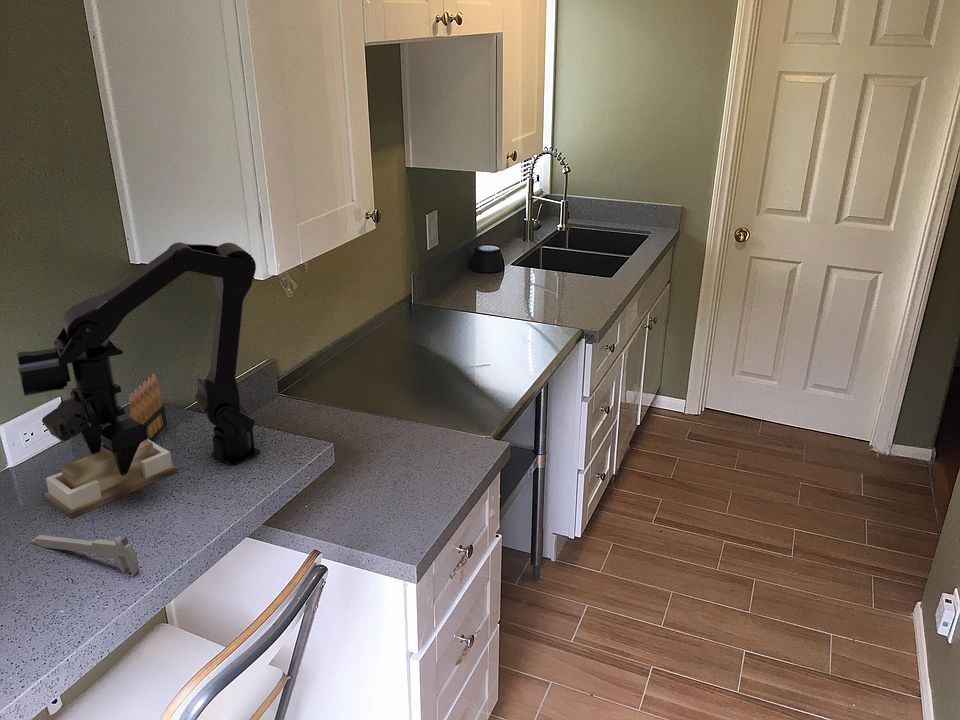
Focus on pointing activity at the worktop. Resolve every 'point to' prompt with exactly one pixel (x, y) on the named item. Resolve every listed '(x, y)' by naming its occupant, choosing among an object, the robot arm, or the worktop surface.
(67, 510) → the walnut board
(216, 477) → the worktop surface
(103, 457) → the maple slat
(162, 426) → the ammunition clip
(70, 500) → the end caps
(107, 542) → the caliper
